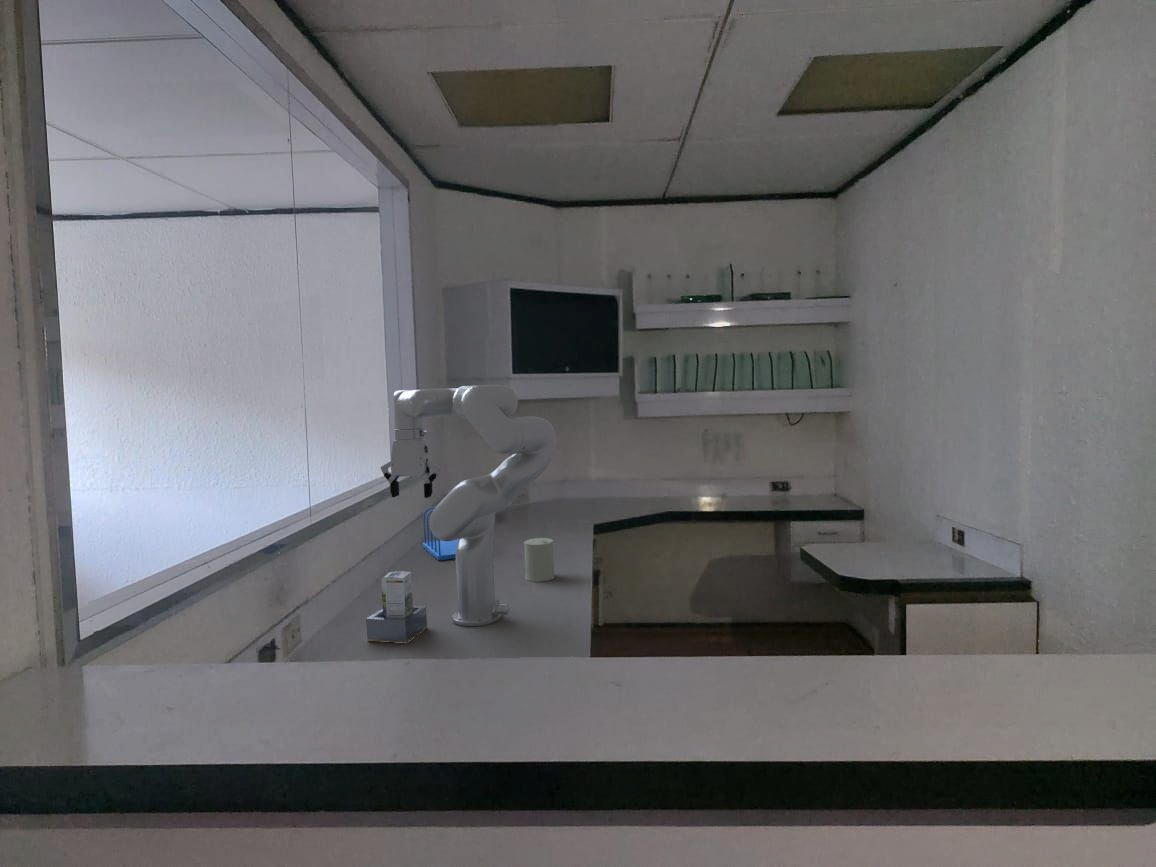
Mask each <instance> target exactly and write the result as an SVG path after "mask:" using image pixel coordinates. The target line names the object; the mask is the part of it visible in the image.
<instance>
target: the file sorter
mask: <svg viewBox="0 0 1156 867" xmlns="http://www.w3.org/2000/svg"><path fill="white" fill-rule="evenodd" d="M435 507H436V506H432V507H428V508H426V509H425V510H424V511H423V515H422V517H423V539H424V541H423V542H422V544H421V545H422V548H423V549H424V548H425V549H424V550H425V551H427V552H428V553H429V554H430V555H432V557H434V558H435V559H436V560H437V561H445V560H450V559H456V546H457V543H458V540H454V541H449V542H446V541H441V540H439V539H437V538H436V537H435V536H434V535H433V533H432V531H431V530H430V525H429V515H431V514H432V512H433V510H434V509H435ZM428 510H430V511H428ZM427 511H428V512H427ZM426 512H427V514H426ZM429 530H430V531H429ZM426 532H427V533H426ZM426 535H427V537H426ZM433 539H434V540H433Z"/></svg>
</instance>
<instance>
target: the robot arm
mask: <svg viewBox="0 0 1156 867" xmlns="http://www.w3.org/2000/svg"><path fill="white" fill-rule="evenodd" d="M518 404H519V400H518V395H517V393H516V392H515V390H514V389H512V388H511V387H509V386H508V385H504V384H480V385H479V384H477V385H462V386H459V387H458V388H457V387H455V388H427V389H426V388H423V389H421V388H420V389H402V390H399V389H398V390H397V391H394V393H393V419H394V439H393V440H392V444H391V445H392V446H391V452H390V461H389V462H387V463H385V464H383V465H381V466H380V471H381V472H382V474H383V477H384V478H385V479H386V480H387V481H388V483H389V488H390V490H389V491H390V494H391V498H396V497H399V496H400V485H399V484H400V483H399V481H398V479H399V478H400V477H409V478H410V477H421V478H422V480H423V481H424V483H423V493H424V494H423V495H424V498H425V499H426V498H427V499H428V498H430V497H432V494H433V482H434V481H435V480H436V479H437V477H438V475H439V474H440V471H441V470H442V467H441V466H440V465H438V464H437V463H434V462H432V461H431V456H430V449H429V445H428V441H427V439H424V438H425V436H428V434H429V432H428V431H427V430H424V424H423V423H424V421H423V419H424V418H433V417H435V418H436V417H449V416H452V417H453V416H458V417H459V418H461V419H463V420H467V421H468V422H469V423H470V425H471V426H472V427H473V428H474V429H475V431H476V432H477V433H478V434H479V435H480V437H481V438H482V439H483V440H484V442H485V443H486V444H487V445H488V447H490V448H491V449H492V450H493V451H494V452H495V453H498V454H500V455H504V456H509V455H510V456H509V457H507V458H506V459H504V460H503V461H502V462H501V464H500V465H499V466H497V467H496V468H495V469H494V470H492V472H490V473H489V474H486V475H485V474H484V475H481V476H476V477H472V478H471V477H470V478H467V479H465V480H462V481H460V482H459V483H458V484H456V485H455V486H454V487H453V488H452V489H451V490H450V491H449V492H448V493H447V494H446V496H444V497H443V498H442V500H440V502H439V503H438V504H437V505H436V506H434V507H435V509H432V510H433V512H431V513H430V517H429V530H430V532H431V531H432V536H433V537H434V536H435V537H436V540H438V539H439V540H440V541H446V542H449V541H454V540H458V543H457V546H456V558H455V572H456V575H455V576H456V591H457V592H456V593H457V609H458V610H456V611H455V612H454V613H453V614H452V621H453V623H454V624H456V625H459V626H464V627H478V626H485V625H490V624H493V623H495V622H497V621H499V620H501V618H502V615H509V614H510V613H511V612H510V611H511V610H510V609H511V608H510V606H509V604H507V603H506V604H503V603H502V604H501V603H499V598H496V597H495V596H496V592H495V578H494V577H495V575H494V549H493V544H494V543H493V542H494V541H493V539H494V531H495V530H494V529H495V521H496V513H499V512H502V511H503V510H505V509H506V508H508V506H509V505H511V503H512V502H513V501H514V500H515V499H517V498H518V497H519V495H521V494H522V493H523V492H524V491H525V490H526V489H527V488H528V486H530V485H531V484H532V483H533V482H534V481H535V480H537V479H538V477H539V476H540V475H542V474H543V473H544V471H545V470H547V468H548V466H549V465H550V463H551V462H552V459H553V458H554V454H555V453H556V446H557V436H556V431H555V428H554V426H553V424H552V423H551V422H550V421H549V420H547V419H546V418H543V417H541V416H535V415H527V416H515V417H510V416H511V415H512V416H513V414H514V412H515V411H516V410H517V408H518ZM389 468H390V470H391V472H390V471H389ZM432 470H433V471H432ZM431 472H432V474H431Z"/></svg>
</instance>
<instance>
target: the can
mask: <svg viewBox="0 0 1156 867" xmlns="http://www.w3.org/2000/svg"><path fill="white" fill-rule="evenodd" d="M523 544H524V547H523V548H524V564H525V565H524V566H525V580H526V581H528V582H533V583H534V582H536V583H537V582H538V583H541V582H548V581H551V580H554V579H555V577H556V575H555V563H554V562H555V561H554V559H555V558H554V540H553V539H552V538H548V537H547V538H546V537H534V538H529V539H526V540H525V541H524V542H523Z"/></svg>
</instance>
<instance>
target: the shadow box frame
mask: <svg viewBox="0 0 1156 867" xmlns="http://www.w3.org/2000/svg"><path fill="white" fill-rule="evenodd" d="M365 622H366V637H367V639H366V640H367V642H368V641H389V642H403V643H404V642H406V643H407V642H408V641H409V640H411V639H412V638H413V637H415V636H416V635H417V634H419V633H420V632H422V631H423V630H424V629H426V628H427V629H428V620H427V606H425V605H423V606H421V605H420V606H419V605H413V613H411V614H410V615H408V616H407V617H405V618H404V619H396V618H383V607H381V609H379V610H378V611H376V612H374V613H373V614H371V615H370V616H368V617H367V618H365ZM427 629H426V630H427ZM424 631H425V630H424ZM424 631H423V632H424ZM423 632H422V633H423ZM420 634H421V633H420ZM420 634H419V635H420ZM415 638H416V637H415ZM411 641H412V640H411ZM407 644H408V643H407Z"/></svg>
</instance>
